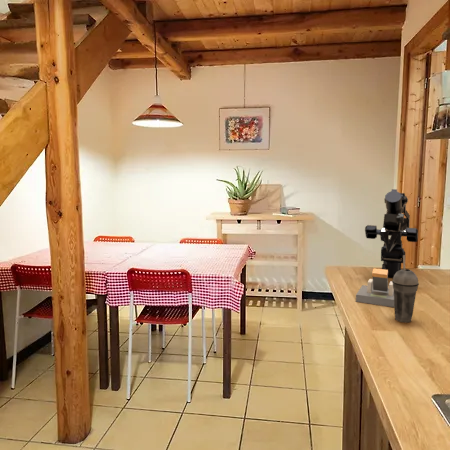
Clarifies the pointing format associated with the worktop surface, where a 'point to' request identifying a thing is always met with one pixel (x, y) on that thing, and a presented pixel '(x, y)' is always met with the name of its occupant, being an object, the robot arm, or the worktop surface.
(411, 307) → the beverage cup
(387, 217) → the robot arm
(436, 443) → the worktop surface
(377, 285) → the lever
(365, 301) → the breaker base
